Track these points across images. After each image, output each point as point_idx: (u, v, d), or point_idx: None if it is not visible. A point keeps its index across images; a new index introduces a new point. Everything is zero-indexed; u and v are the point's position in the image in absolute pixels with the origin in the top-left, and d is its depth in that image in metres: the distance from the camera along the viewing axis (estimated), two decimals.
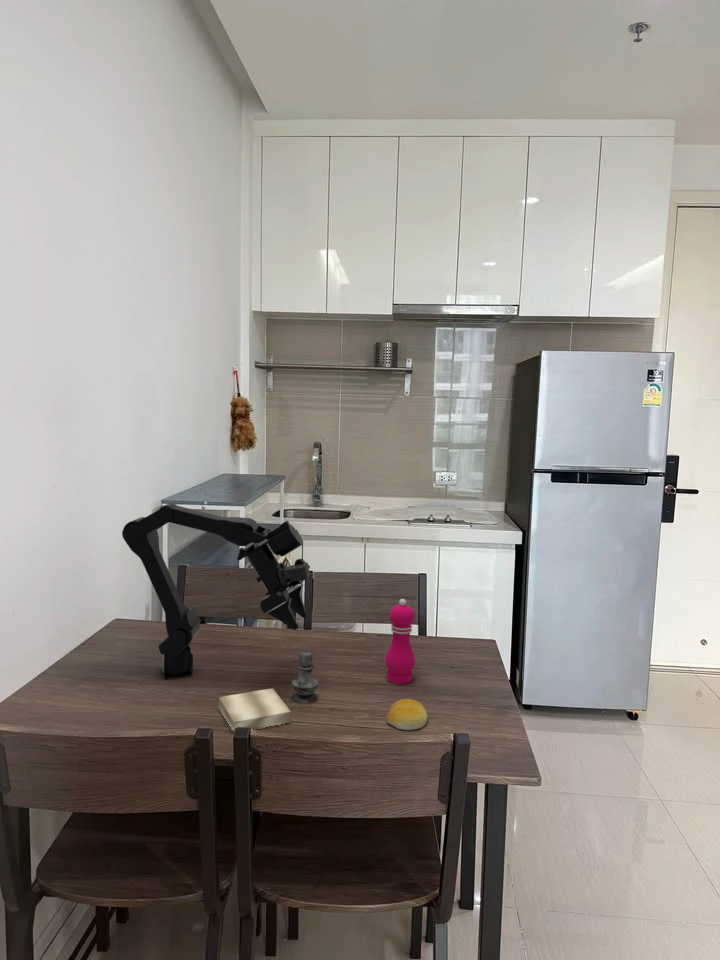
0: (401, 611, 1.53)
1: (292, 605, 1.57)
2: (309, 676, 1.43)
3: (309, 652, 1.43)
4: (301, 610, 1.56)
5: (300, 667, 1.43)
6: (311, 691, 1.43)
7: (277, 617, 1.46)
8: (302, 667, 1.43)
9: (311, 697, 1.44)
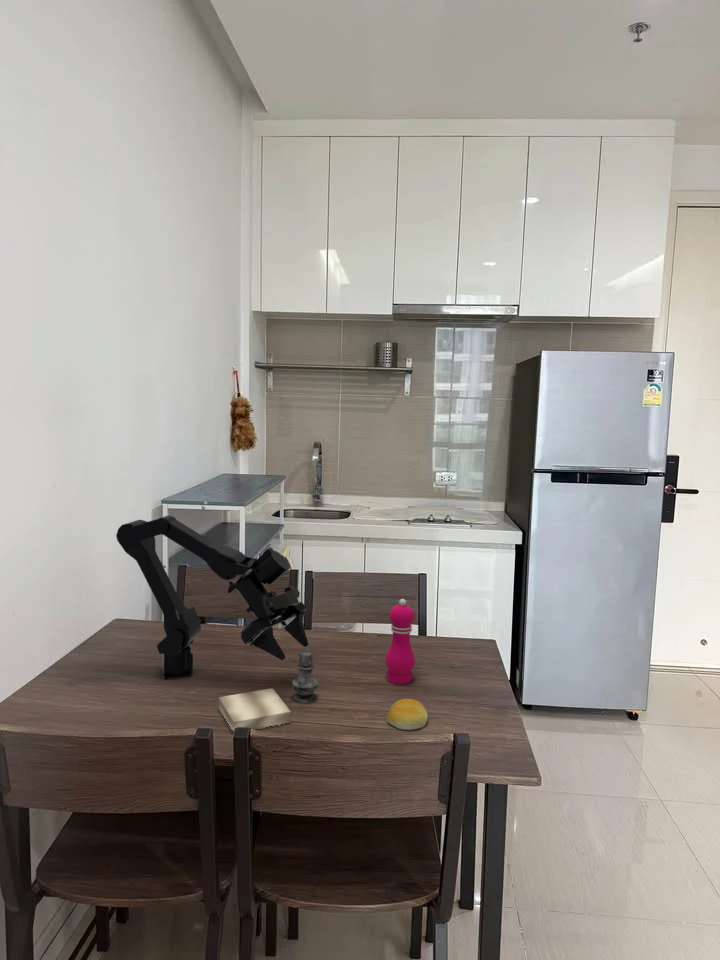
0: (401, 611, 1.53)
1: (294, 635, 1.51)
2: (309, 676, 1.43)
3: (309, 652, 1.43)
4: (302, 639, 1.50)
5: (300, 667, 1.43)
6: (311, 691, 1.43)
7: (262, 648, 1.42)
8: (302, 667, 1.43)
9: (311, 697, 1.44)
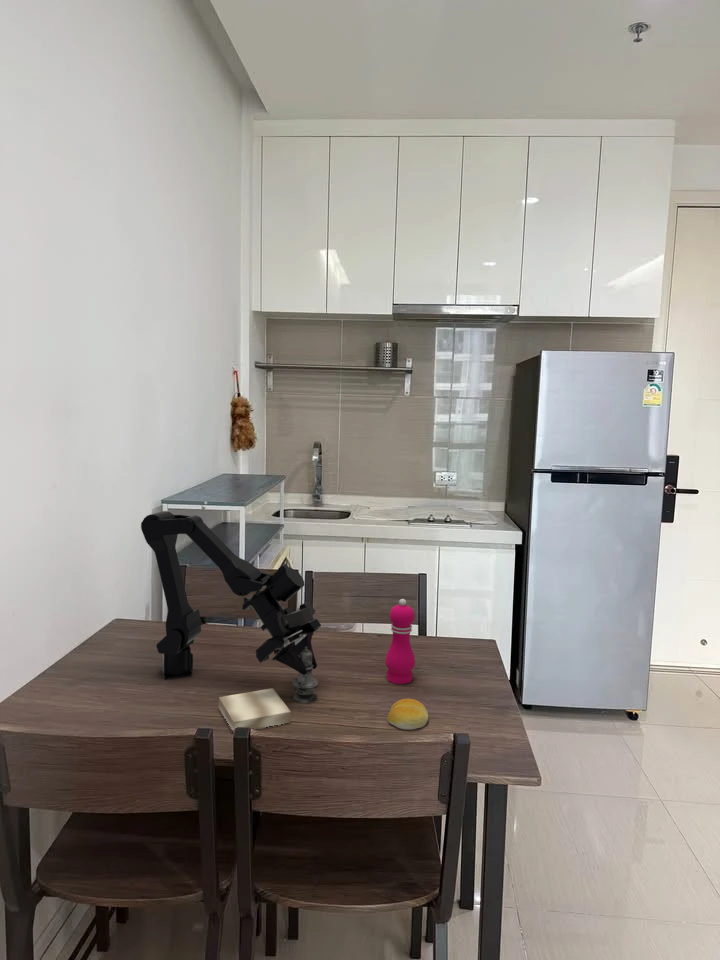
0: (401, 611, 1.53)
1: None
2: (309, 676, 1.43)
3: (309, 652, 1.43)
4: None
5: None
6: (311, 691, 1.43)
7: (284, 662, 1.42)
8: None
9: (311, 697, 1.44)
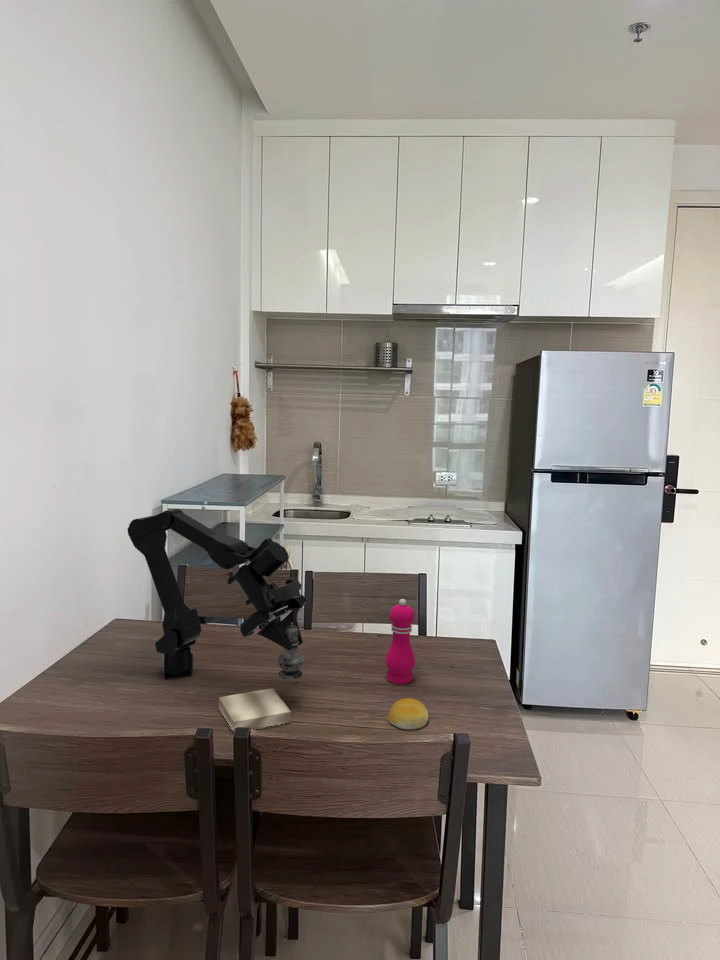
0: (401, 611, 1.53)
1: None
2: (295, 653, 1.40)
3: (295, 628, 1.40)
4: None
5: None
6: (297, 667, 1.40)
7: (269, 638, 1.39)
8: None
9: (297, 674, 1.41)
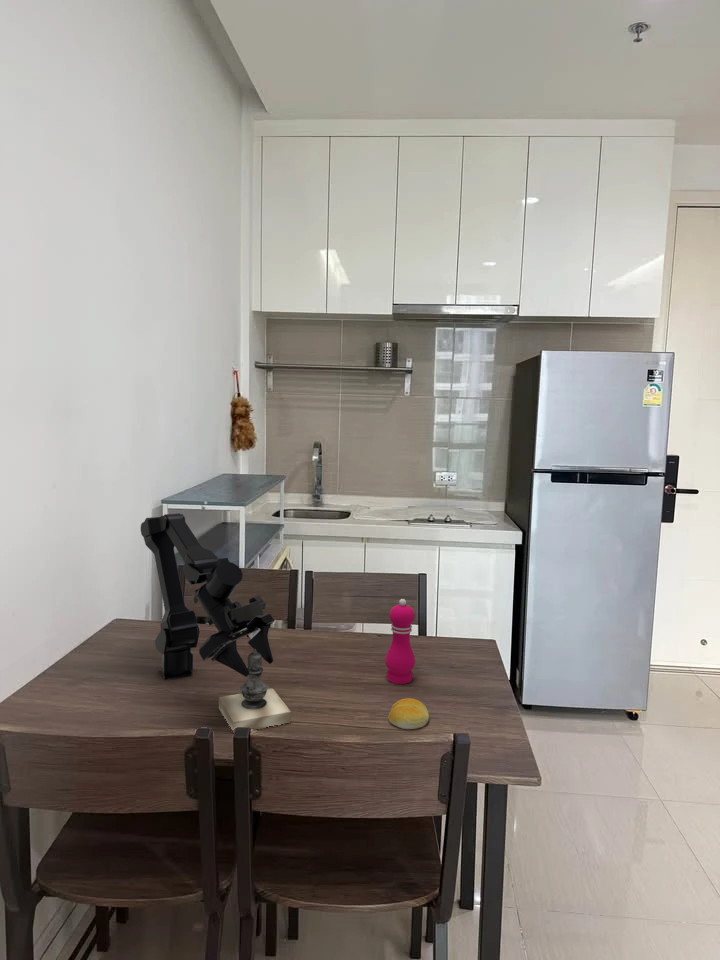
0: (401, 611, 1.53)
1: (258, 650, 1.39)
2: (258, 681, 1.34)
3: (258, 655, 1.34)
4: (266, 655, 1.38)
5: None
6: (260, 696, 1.33)
7: (224, 663, 1.31)
8: (250, 671, 1.34)
9: (260, 703, 1.35)
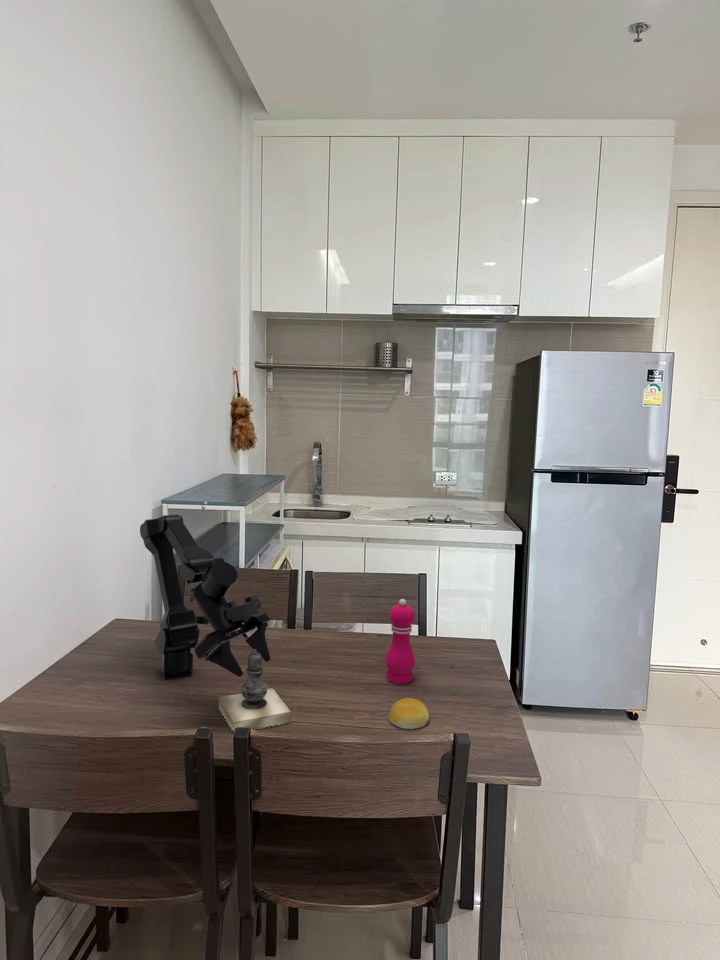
0: (401, 611, 1.53)
1: (255, 648, 1.40)
2: (258, 681, 1.34)
3: (258, 655, 1.34)
4: (263, 653, 1.39)
5: (248, 671, 1.34)
6: (260, 697, 1.33)
7: (218, 663, 1.31)
8: (250, 671, 1.34)
9: (260, 703, 1.35)
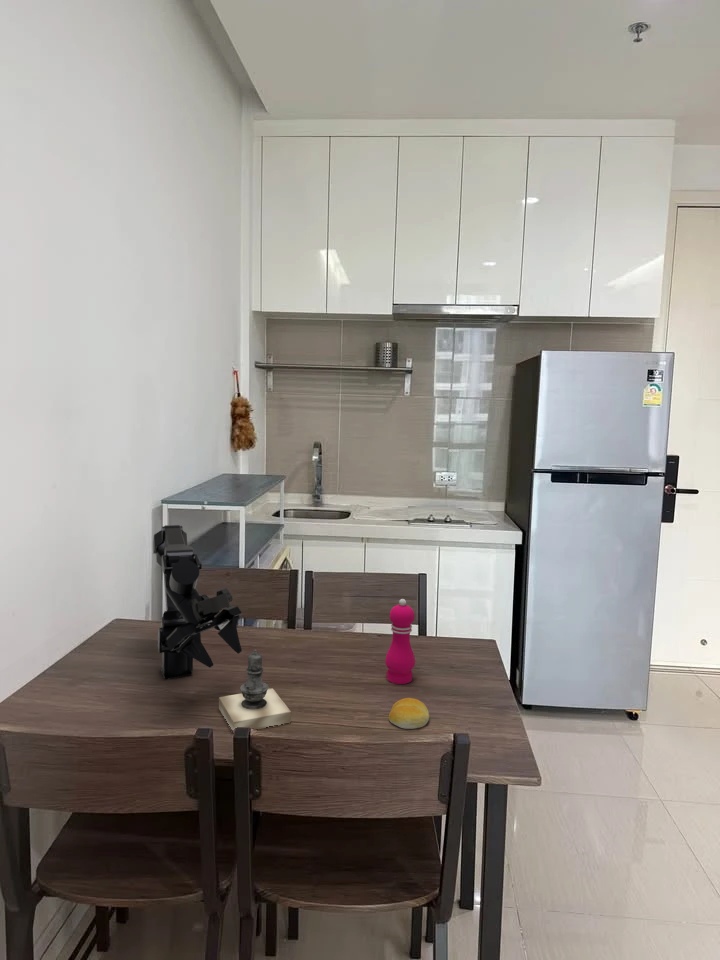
0: (401, 611, 1.53)
1: (227, 640, 1.44)
2: (258, 681, 1.34)
3: (258, 655, 1.34)
4: (235, 645, 1.43)
5: (248, 671, 1.34)
6: (260, 697, 1.33)
7: (189, 654, 1.35)
8: (250, 671, 1.34)
9: (260, 703, 1.35)
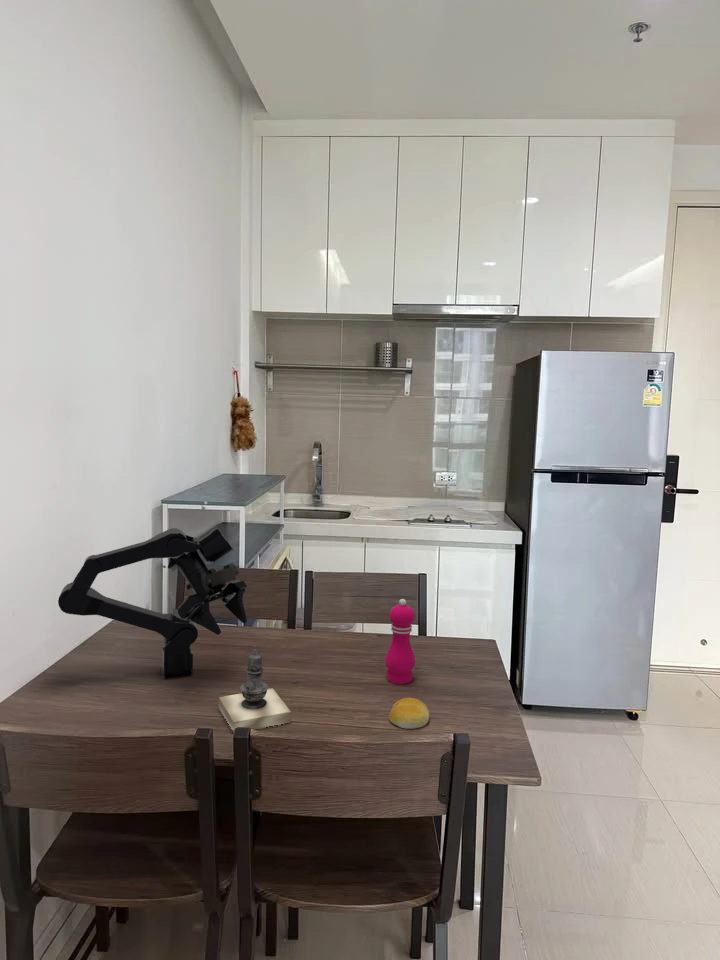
0: (401, 611, 1.53)
1: (234, 611, 1.55)
2: (258, 681, 1.34)
3: (258, 655, 1.34)
4: (241, 616, 1.54)
5: (248, 671, 1.34)
6: (260, 697, 1.33)
7: (199, 623, 1.46)
8: (250, 671, 1.34)
9: (260, 703, 1.35)
